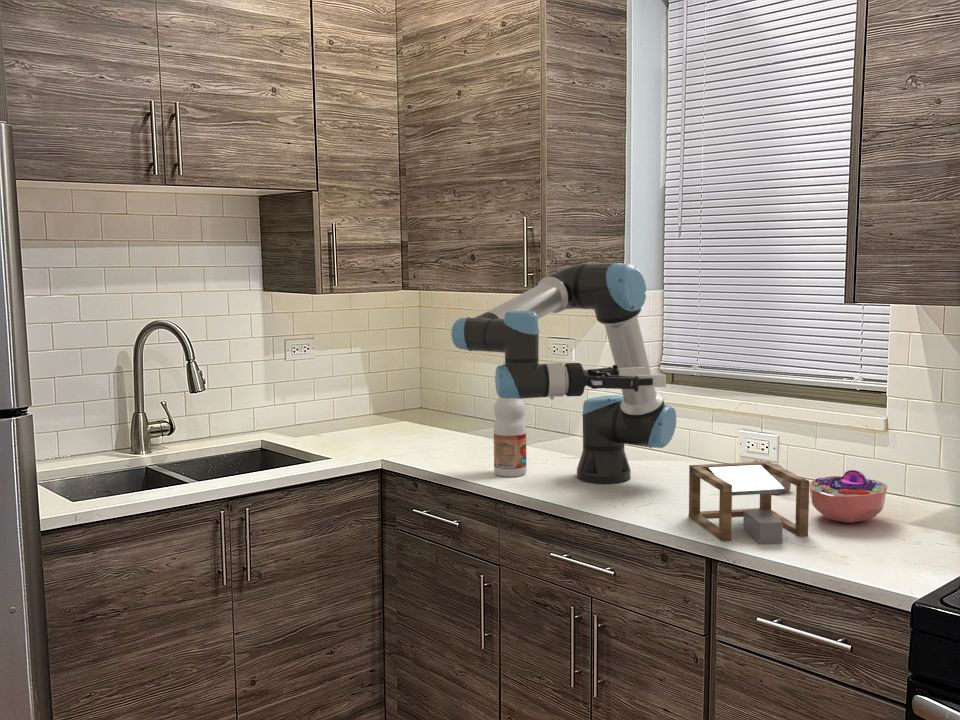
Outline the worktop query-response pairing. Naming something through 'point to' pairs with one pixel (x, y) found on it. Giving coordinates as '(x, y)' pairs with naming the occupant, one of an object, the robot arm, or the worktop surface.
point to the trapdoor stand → (726, 509)
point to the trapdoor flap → (748, 479)
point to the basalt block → (762, 527)
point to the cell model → (848, 497)
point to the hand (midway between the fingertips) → (655, 376)
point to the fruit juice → (509, 438)
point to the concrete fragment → (780, 480)
